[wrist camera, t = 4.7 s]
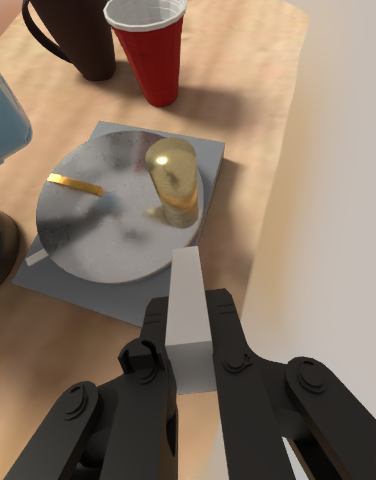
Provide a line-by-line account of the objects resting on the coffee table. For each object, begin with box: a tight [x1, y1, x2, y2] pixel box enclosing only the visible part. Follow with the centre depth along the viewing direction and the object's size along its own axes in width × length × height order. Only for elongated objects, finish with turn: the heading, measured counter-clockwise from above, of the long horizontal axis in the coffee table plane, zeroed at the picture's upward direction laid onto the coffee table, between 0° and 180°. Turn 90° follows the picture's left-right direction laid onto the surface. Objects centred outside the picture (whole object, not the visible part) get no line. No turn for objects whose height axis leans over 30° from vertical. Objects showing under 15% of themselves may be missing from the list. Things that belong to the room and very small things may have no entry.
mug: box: [22, 0, 116, 81], centre depth 35 cm, size 10×14×12 cm
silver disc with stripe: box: [36, 130, 204, 285], centre depth 21 cm, size 20×20×11 cm
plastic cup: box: [103, 0, 187, 107], centre depth 32 cm, size 11×11×12 cm
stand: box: [11, 121, 225, 327], centre depth 28 cm, size 26×20×3 cm
